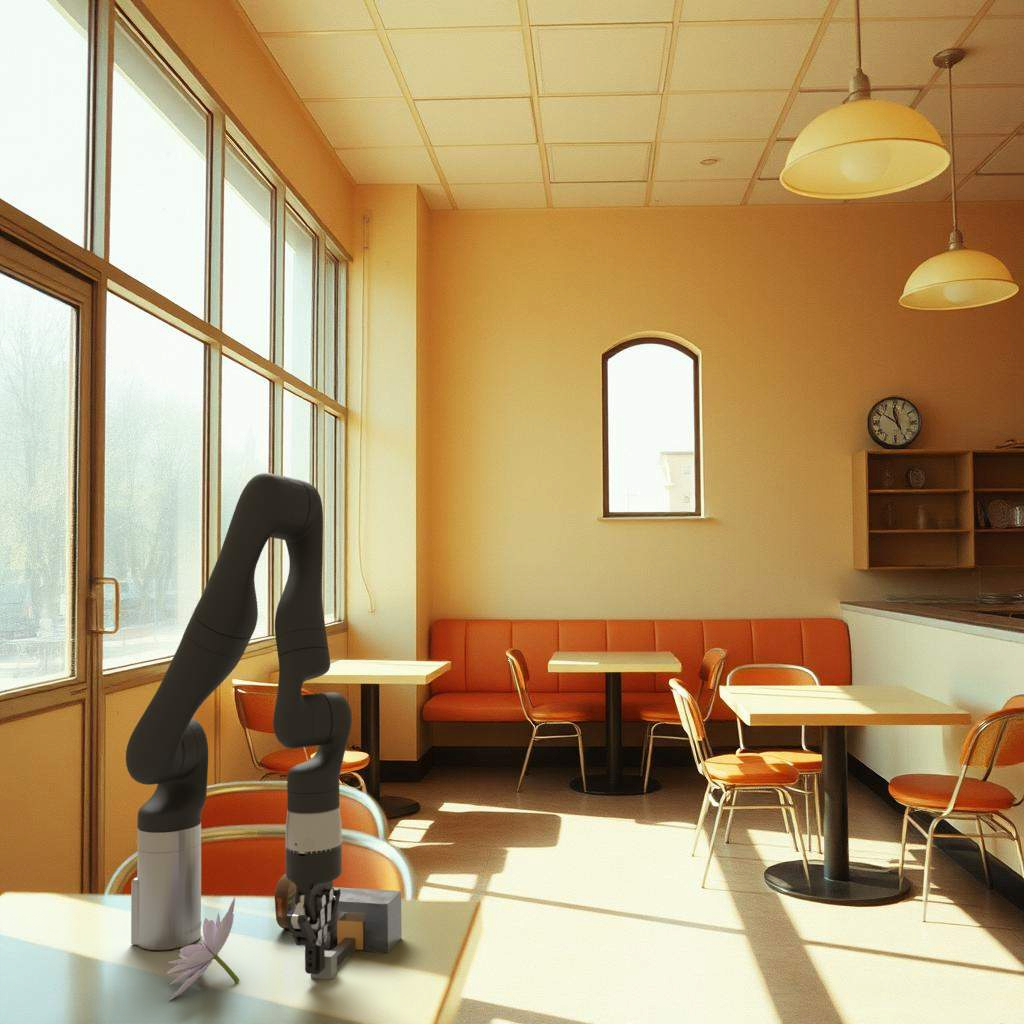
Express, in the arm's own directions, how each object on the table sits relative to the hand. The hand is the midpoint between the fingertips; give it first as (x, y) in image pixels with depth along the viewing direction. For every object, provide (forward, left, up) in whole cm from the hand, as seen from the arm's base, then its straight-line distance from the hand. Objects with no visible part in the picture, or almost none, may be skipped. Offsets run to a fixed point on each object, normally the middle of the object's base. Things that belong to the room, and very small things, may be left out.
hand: (314, 971), depth 136 cm
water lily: (-16, -2, -2) cm, 16 cm away
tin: (-13, +23, -2) cm, 26 cm away
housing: (0, +15, -2) cm, 15 cm away
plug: (0, +10, -2) cm, 10 cm away
